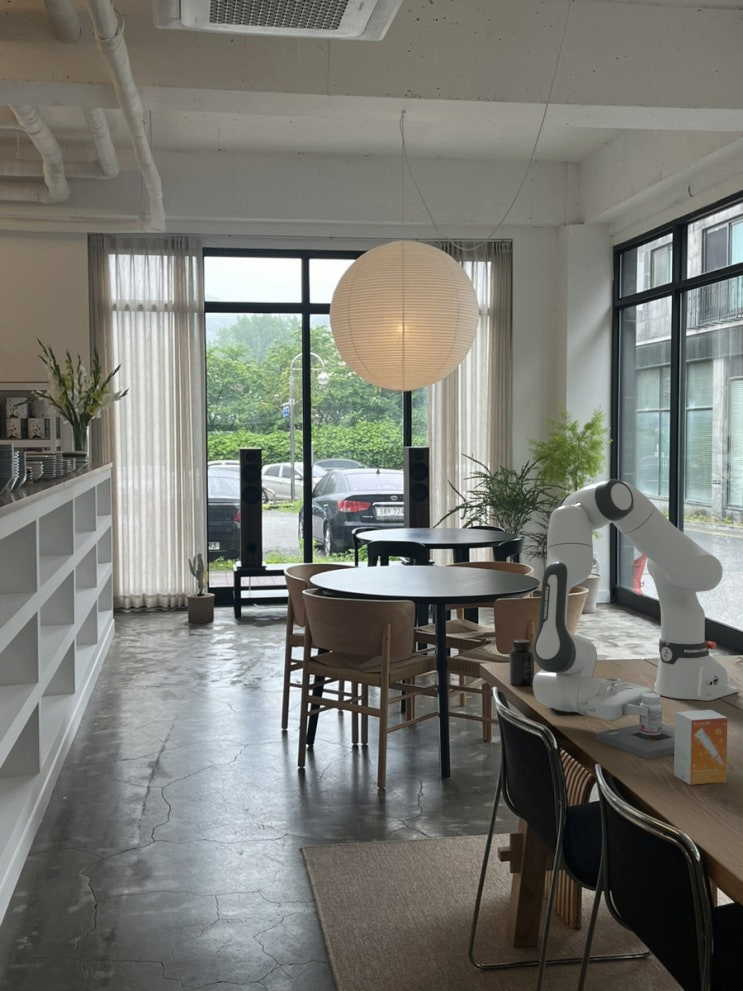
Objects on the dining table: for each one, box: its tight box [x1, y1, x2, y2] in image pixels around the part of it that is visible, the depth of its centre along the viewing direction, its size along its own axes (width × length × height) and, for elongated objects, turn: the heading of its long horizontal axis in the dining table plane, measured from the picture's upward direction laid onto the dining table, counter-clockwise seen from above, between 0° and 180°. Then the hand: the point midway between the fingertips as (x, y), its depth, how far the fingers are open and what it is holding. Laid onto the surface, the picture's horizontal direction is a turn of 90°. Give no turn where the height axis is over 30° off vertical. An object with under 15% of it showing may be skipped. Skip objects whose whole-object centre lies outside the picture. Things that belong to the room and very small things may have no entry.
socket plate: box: [595, 723, 675, 760], centre depth 219 cm, size 18×16×2 cm
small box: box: [673, 709, 728, 786], centre depth 196 cm, size 8×6×13 cm
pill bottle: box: [638, 692, 663, 735], centre depth 219 cm, size 5×5×8 cm
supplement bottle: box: [509, 639, 536, 687], centre depth 274 cm, size 7×7×12 cm
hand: (654, 708), depth 218 cm, fingers closed on pill bottle, 5 cm apart
